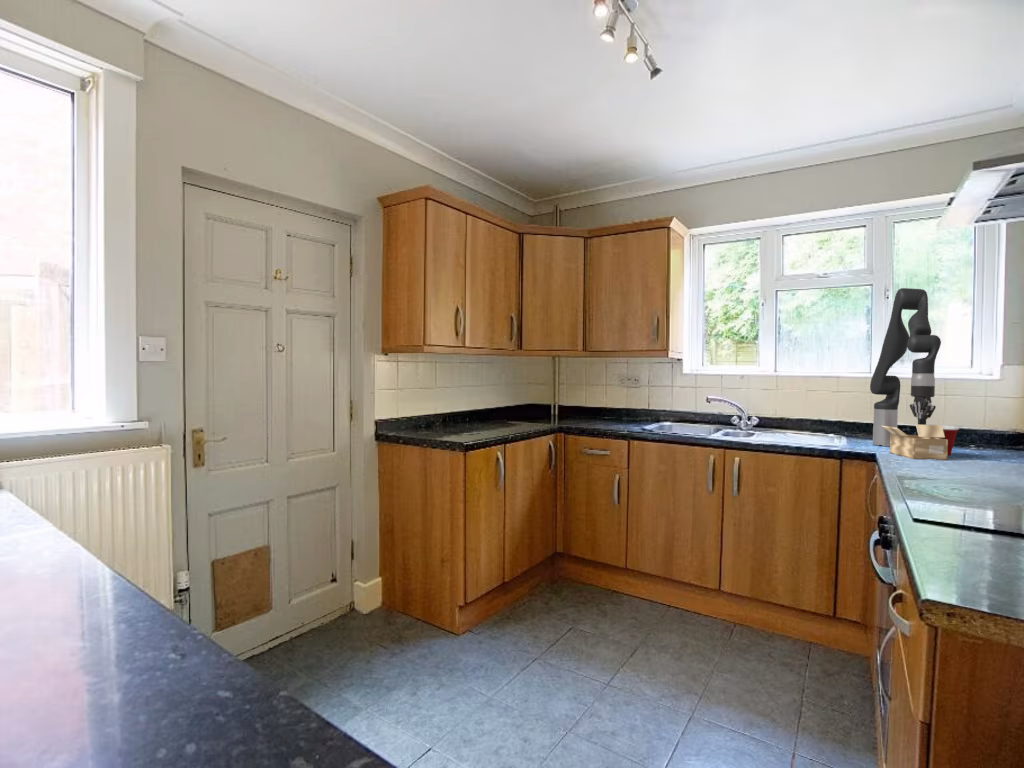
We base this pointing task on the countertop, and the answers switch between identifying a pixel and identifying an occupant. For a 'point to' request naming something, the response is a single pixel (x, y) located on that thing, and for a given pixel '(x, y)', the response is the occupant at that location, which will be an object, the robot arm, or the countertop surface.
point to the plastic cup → (949, 436)
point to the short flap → (930, 431)
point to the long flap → (894, 431)
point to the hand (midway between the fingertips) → (921, 428)
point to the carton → (919, 447)
